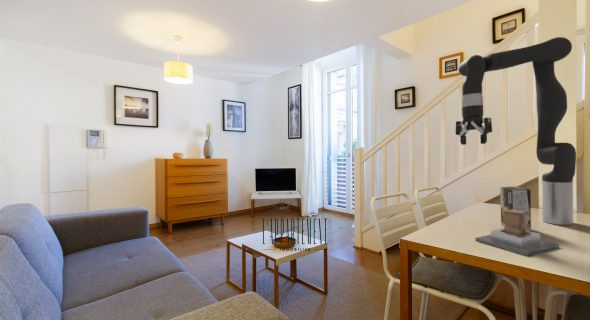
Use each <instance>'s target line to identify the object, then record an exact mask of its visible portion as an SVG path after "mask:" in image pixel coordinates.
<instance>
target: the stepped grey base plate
mask: <svg viewBox="0 0 590 320" xmlns="http://www.w3.org/2000/svg"><path fill="white" fill-rule="evenodd" d="M525 234H526V235H523V236H517V235H513V234H509V233H505V227H501V228H497V229H492V230H491V231H490V234H487V235H483V236H479V237H478V236H477V237H475V239H474V240H475V242H478V243H483V244H484V245H489V246H492V247H495V248H499V249H502V250H505V251H509V252H513V253H516V254H519V255H522V256H526V257H529V256H533V255H536V254H540V253H544V252H548V251H551V250H556V249H559V247H560V244H558V243H555V242H550V241H546V240H541V233H538V232H534V231H525Z"/></svg>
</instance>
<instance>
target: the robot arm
mask: <svg viewBox="0 0 590 320" xmlns="http://www.w3.org/2000/svg"><path fill="white" fill-rule="evenodd" d="M572 49H573V45H572V42H571V41H570V40H569V39H568V38H567V37H563V36H561V37H560V36H556V37H554V38H551V39H548V40H546V41H543V42H540V43H536V44H534V45H533V44H532V45H528V46H525V47H519V48H515V49H510V50H504V51H499V52H494V53H490V54H487V55H486V56H482V55H479V54H475V55H472V56H470V57H469V58H466V59H465V60H462V62H461V63H460V64H459V67H458V72H459V74H460V75H461V76H463V77H466V78H465V81H464V82H463V83H462V87H461V91H462V92H461V93H462V96H461V97H462V98H461V117H462V120H461V121H460V120H459V121H458V120H457V121H456V122H455V135H456V136H459V137H460V139H459V140H460V141H459V142H460V144H461V145H462V146H463V145H467V136H466V135H467V133H469V132H470V131H473V130H475V131H478V132H479V135H480V144H482V145H484V144H487V142H488V134H489V133H492V132H493V125H492V118H491V117H484V118H483V116H484V97H483V81H484V76H485V73H488V72H496V71H500V70H504V69H505V70H506V69H510V68H513V67H516V66H520V65H523V64H527V63H531V62H532V68H533V74H534V78H535V79H534V80H535V91H536V93H535V94H536V113H537V114H536V115H537V137H536V153H535V154H536V157H537V160H538V162H540V164H542V165H546V166H547V165H548V166H549V165H551V166H553V168H552V170H551V171H549V172H545V173H543V174H542V176H541V180H542V181H541V184H542V192H541V193H542V195H541V197H542V198H541V200H542V221H543V222H544V223H548V224H550V225H551V224H552V225H553V224H554V225H557V226H558V225H559V226H569V225H570V226H571V225H574V177H575V175H576V166H577V152H576V147H575V146H574V145H573V144H572V143H569V142H556V131H557V128H558V126H559V125H560V124H561V122H562V120H563V119H564V117H565V115H566V113H567V111H568V96H567V91H566V90H565V87H563V85H562V84H561V83H560V82H559V80H558V79H557V76H556V74H555V63H556V62H558V61H561V60H563V59H565V58H566V57H568V56H569V55H570V54H571V52H572ZM483 124H484V125H483Z"/></svg>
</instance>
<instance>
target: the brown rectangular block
mask: <svg viewBox="0 0 590 320" xmlns="http://www.w3.org/2000/svg"><path fill="white" fill-rule="evenodd" d="M504 217H505V227H504V228H505V233H509V234H513V235H517V236H523V235H526V234H525V212H522V211H516V210H508V211H504Z"/></svg>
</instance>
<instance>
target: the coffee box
mask: <svg viewBox="0 0 590 320" xmlns="http://www.w3.org/2000/svg"><path fill="white" fill-rule="evenodd" d="M499 191H500V193H499V194H500V224H501V226H503V228H505V217H504V211H508V210H516V211H522V212H525V231H530V232H532V218H531V217H532V211H531V209H532V207H531V206H532V205H531V204H532V203H531V202H532V201H531V193H532V192H531V189H530V188H526V187H519V186H500V187H499Z"/></svg>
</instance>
